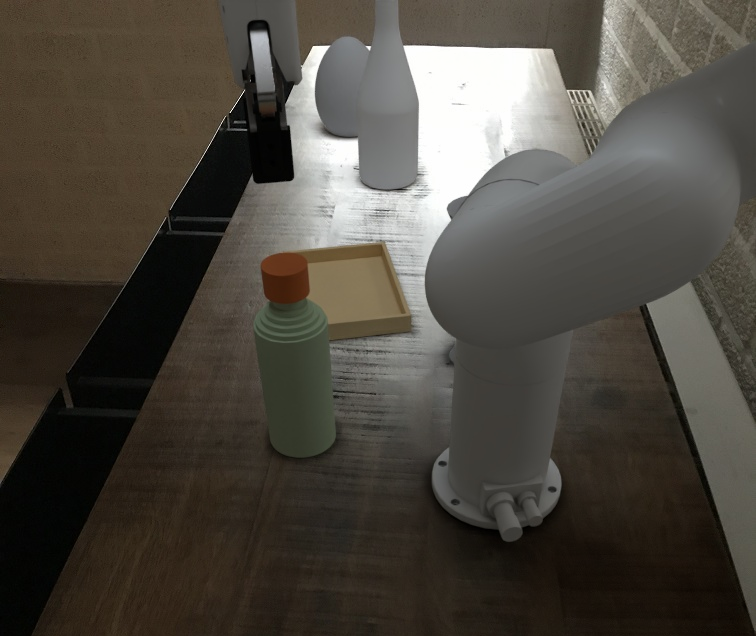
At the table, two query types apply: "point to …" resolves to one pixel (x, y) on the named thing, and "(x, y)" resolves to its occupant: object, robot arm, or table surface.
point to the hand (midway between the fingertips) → (271, 162)
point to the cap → (285, 278)
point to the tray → (357, 290)
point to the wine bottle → (387, 107)
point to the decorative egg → (340, 85)
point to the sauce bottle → (296, 377)
